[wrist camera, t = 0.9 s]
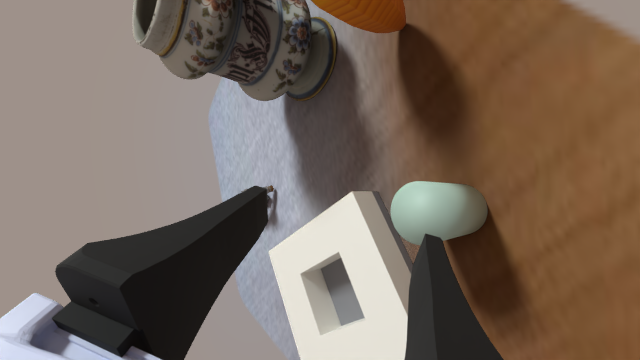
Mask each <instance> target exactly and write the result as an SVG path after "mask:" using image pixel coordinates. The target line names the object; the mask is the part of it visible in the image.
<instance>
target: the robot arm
mask: <svg viewBox="0 0 640 360" xmlns="http://www.w3.org/2000/svg"><path fill="white" fill-rule="evenodd" d="M267 222H268V213H267V189H266V188H262V187H259V186H253V187H251V188H249V189H247V190H245V191H244V192H242V193H240V194H238V195H236V196H234V197H232V198H230V199H228V200H227V201H225V202H223V203H221V204H219V205H217V206H215V207H212V208H210V209H208V210H206V211H204V212H202V213H200V214H197V215H195V216H193V217H190V218H188V219H185V220H182V221H179V222H177V223H174V224H171V225H168V226H164V227H161V228H158V229H155V230H151V231H147V232H144V233H140V234H136V235H131V236H126V237H121V238H117V239H110V240H104V241H98V242H92V243H87V244H86V245H84V246H83V247H82V248H80V249H79V250H78V251H76V252H75V253H73V254H72V255H71V256H69V257H68V258H67V259H65V260H64V261H63V262H61V263H60V264H59V265H57V267H56V271H55V272H56V276H57V278H58V280H59V282H60V284H61V285H62V287H63V288H64V290H65V292H66V293H67V295H68V296H69V298H70V299H71V302H70V303H69V304H68V305H66V306H65V307H63V306H62V305H60V304H59V303H57V302H56V301H54V300H51V299H49V298H47V297H45V296H43V295H40V294H38V293H33V294H32V295H31V296H29V297H28V298H27V299H25V300H24V301H23V302H21V303H20V304H19V305H17V306H16V307H15V308H13V309H12V310H11V311H10V312H8V313H7V314H6V315H4V316H3V317H2V318H0V360H184V358H185V356H186V354H187V352H188V350H189V348H190V346H191V344H192V342H193V340H194V338H195V336H196V335H197V333H198V331H199V329H200V327H201V325H202V323H203V322H204V320H205V318H206V316H207V314H208V313H209V311H210V309H211V307H212V305H213V304H214V302H215V300H216V299H217V297H218V295H219V294H220V292H221V290H222V289H223V287H224V285H225V284H226V282H227V281H228V279H229V278H230V276H231V275H232V274H233V272H234V271H235V270H236V268H237V267H238V266H239V264H240V263H241V262H242V260H243V259H244V258H245V256H246V255H247V254H248V252H249V251H250V250H251V248H252V247H253V246H254V244H255V243H256V241H257V240H258V239H259V237H260V235H261V233H262V232H263V230H264V228H265V226H266V224H267ZM405 360H503V358H502V357H501V355H500V354H499V353H498V351H497V350H496V348H495V347H494V346H493V344H492V343H491V341H490V340H489V338H488V337H487V335H486V333H485V332H484V330H483V329H482V327H481V325H480V324H479V322H478V320H477V319H476V317H475V315H474V313H473V312H472V310H471V308H470V306H469V304H468V302H467V300H466V298H465V296H464V294H463V292H462V290H461V288H460V286H459V284H458V281H457V279H456V277H455V274H454V272H453V270H452V267H451V265H450V262H449V259H448V256H447V254H446V251H445V247H444V244H443V241H442V239H441V238H440V237H437V236H433V235H430V234H426V233H425V235H424V238H423V241H422V243H421V246H420V248H419V251H418V254H417V256H416V259H415V262H414V264H413V267H412V273H411V279H410V285H409V298H408V321H407V342H406V353H405Z"/></svg>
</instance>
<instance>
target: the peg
mask: <svg viewBox="0 0 640 360" xmlns="http://www.w3.org/2000/svg"><path fill="white" fill-rule="evenodd" d="M487 214H488V208H487V203H486V200H485V199H484V197H483V195H482V194H481V193H480V192H479V191H478V190H477V189H475V188H474V187H471V186H469V185H465V184H453V183H438V182H423V181H415V182H411V183H408V184H406V185H404V186H403V187H402V188H400V189H399V190H398V192H397V193H396V194H395V196H394V198H393V201H392V204H391V218H392V222H393V225H394V227H395V229H396V230H397V232H398V233H399V234H400V235H401V236H402V237H403V238H404V239H405V240H407V241H408V242H410V243H413V244H417V245H421V243H422V241H423V238H424V235H425V233H426V234H430V235H433V236H437V237H440V238H441V239H442V241H444V240H448V239H452V238H455V237H459V236H463V235H467V234H471V233H474V232H475V231H477V230H478V229H480V228H481V227H482V226H483V224H484V223H485V221H486V218H487Z"/></svg>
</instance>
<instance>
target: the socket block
mask: <svg viewBox="0 0 640 360" xmlns="http://www.w3.org/2000/svg"><path fill="white" fill-rule="evenodd" d="M269 255H270V259H271V262H272V265H273V269H274V272H275V275H276V279H277V282H278V285H279V289H280V292H281V295H282V299H283V302H284V305H285V309H286V312H287V316H288V319H289V322H290V326H291V329H292V332H293V336H294V339H295V342H296V346H297V349H298V352H299V356H300V359H301V360H405V353H406V342H407V321H408V298H409V285H410V279H411V273H412V267H413V264H412V261H411V259H410V257H409V255H408V253H407V251H406V249H405V247H404V245H403V243H402V241H401V239H400V237H399V234H398V232H397V230H396V229H395V227H394V225H393V222H392V220H391V218H390V216H389V214H388V212H387V210H386V207H385V205H384V203H383V201H382V199H381V197H380V195H379V193H378V192H367V191H352V192H350V193H349V194H348V195H346V196H345V197H343V198H342V199H341V200H339V201H338V202H337V203H335V204H334V205H332V206H331V207H330V208H328V209H327V210H325V211H324V212H323V213H321V214H320V215H319V216H317V217H316V218H314V219H313V220H312V221H310V222H309V223H307V224H306V225H305V226H303V227H302V228H300V229H299V230H298V231H296V232H295V233H294V234H292V235H291V236H289V237H288V238H287V239H285V240H284V241H282V242H281V243H280V244H278V245H277V246H276V247H274V248H273V249H271V250H270V251H269Z"/></svg>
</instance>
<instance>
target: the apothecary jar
mask: <svg viewBox="0 0 640 360" xmlns="http://www.w3.org/2000/svg"><path fill="white" fill-rule="evenodd" d="M132 25H133V26H132V27H133V36H134V39H135V41H136V43H137V44H138V45H140V46H142V47H144V48H146V49H150V50H151V51H152V52H154V53H155V54H157V55H159V57H160V59H161V61H162V62H163V64H164V65H165V67H166V68H167V69H168V70H169V71H170V72H172V73H173V74H174V75H176V76H178V77H180V78H183V79H197V78H200V77H202V76H203V75H205V74H206V73H207V72H209V73H212V74H216V75H219V76H222V77H225V78H228V79H231V80H233V81H236V82H238V84H239V85H240V87H241V88H242V90H243V91H244V92H245V93H246V94H247V95H249V96H250V97H252V98H254V99H256V100H260V101H269V100H273V99H276V98H278V97H280V96H282V95H283V94H284V93H287V94H288V95H289V96H290V97H291V98H293V99H295V100H297V101H304V100H308V99H310V98H312V97H314V96H315V95H316V94H317V93H319V92H320V91H321V89H322V88H323V87H324V85H325V84H326V82H327V81H328V79H329V77H330V75H331V72H332V70H333V67H334V63H335V58H336V48H337V47H336V38H335V34H334V31H333V29H332V27H331V25H330V24H329V22H328V21H326V20H325V19H323V18H321V17H312V18H311V17H310V12H309V8H308V5H307V3H306V1H305V0H134V4H133V18H132Z"/></svg>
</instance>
